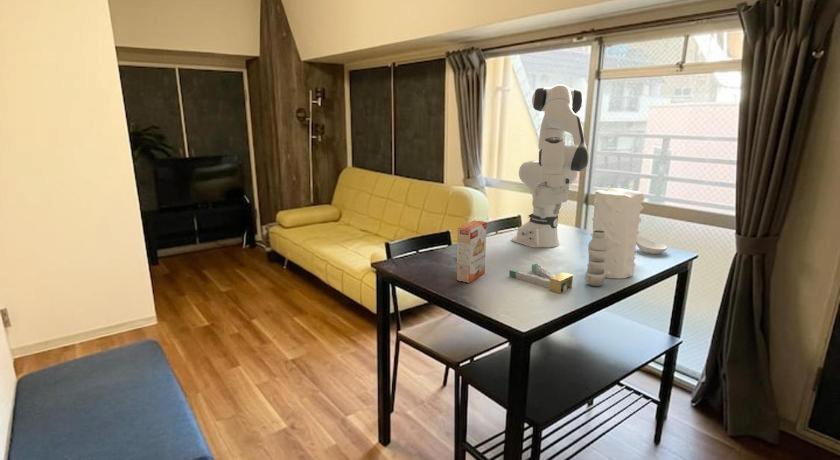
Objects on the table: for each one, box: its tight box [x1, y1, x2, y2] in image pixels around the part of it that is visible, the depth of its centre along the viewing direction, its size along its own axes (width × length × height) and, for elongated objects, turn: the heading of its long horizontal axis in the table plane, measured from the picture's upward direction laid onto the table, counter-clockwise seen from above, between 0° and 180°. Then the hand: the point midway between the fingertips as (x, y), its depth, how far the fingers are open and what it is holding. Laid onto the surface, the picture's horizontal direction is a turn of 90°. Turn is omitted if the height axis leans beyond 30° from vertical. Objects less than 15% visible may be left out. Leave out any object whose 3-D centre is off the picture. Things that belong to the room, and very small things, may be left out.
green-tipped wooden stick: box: [508, 268, 568, 294], centre depth 168 cm, size 23×4×3 cm, turn 43°
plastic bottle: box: [584, 230, 608, 287], centre depth 163 cm, size 6×7×20 cm
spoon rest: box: [636, 234, 668, 255], centre depth 205 cm, size 24×12×7 cm, turn 43°
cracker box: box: [456, 220, 488, 284], centre depth 173 cm, size 14×6×21 cm, turn 148°
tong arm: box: [531, 263, 555, 280], centre depth 173 cm, size 16×2×3 cm, turn 13°
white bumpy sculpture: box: [586, 187, 645, 279], centre depth 174 cm, size 17×16×32 cm
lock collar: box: [549, 271, 574, 294], centre depth 162 cm, size 4×8×5 cm, turn 133°
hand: (549, 216), depth 178 cm, fingers open, 8 cm apart
